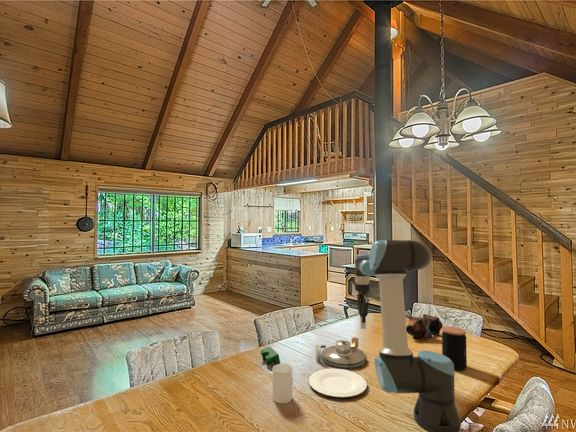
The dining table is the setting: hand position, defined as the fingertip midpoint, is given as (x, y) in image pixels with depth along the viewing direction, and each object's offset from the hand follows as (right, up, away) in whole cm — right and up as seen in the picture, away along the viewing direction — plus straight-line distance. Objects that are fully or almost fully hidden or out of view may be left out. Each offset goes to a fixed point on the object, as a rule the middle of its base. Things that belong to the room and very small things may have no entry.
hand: (362, 328), depth 170 cm
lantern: (+43, -16, +30) cm, 55 cm away
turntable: (-10, -13, -3) cm, 17 cm away
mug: (-43, -14, -39) cm, 60 cm away
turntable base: (-11, -15, -4) cm, 19 cm away
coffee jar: (+42, -15, -12) cm, 46 cm away
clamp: (-49, -15, -8) cm, 52 cm away
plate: (-18, -15, -30) cm, 38 cm away
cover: (-11, -12, -4) cm, 17 cm away
